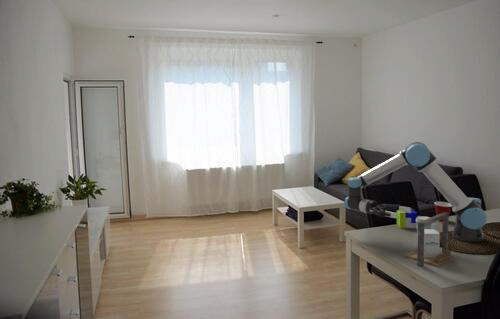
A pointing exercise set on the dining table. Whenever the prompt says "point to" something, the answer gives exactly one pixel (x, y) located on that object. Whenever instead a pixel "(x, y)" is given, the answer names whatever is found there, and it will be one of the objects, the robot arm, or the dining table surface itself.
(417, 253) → the keeper arch
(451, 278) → the dining table surface
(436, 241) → the supplement box
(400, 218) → the puzzle toy
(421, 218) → the coffee cup
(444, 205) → the plastic cup
